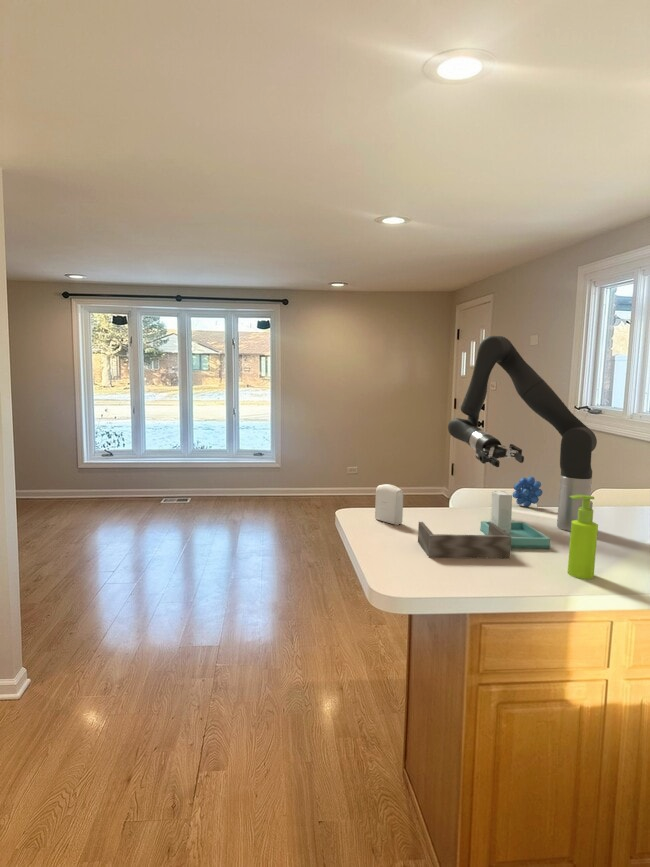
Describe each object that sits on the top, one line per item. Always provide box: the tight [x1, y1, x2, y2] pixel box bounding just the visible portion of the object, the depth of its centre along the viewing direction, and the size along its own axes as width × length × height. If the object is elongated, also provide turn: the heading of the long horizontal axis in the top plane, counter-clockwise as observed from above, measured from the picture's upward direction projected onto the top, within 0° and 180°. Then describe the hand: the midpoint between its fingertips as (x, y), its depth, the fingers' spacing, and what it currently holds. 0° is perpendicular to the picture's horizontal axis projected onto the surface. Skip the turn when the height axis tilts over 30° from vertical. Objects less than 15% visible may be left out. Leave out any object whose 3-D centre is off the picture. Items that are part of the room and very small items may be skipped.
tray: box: [479, 520, 551, 550], centre depth 161 cm, size 14×18×3 cm
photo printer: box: [374, 483, 404, 526], centre depth 177 cm, size 10×4×12 cm, turn 39°
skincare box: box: [490, 490, 513, 534], centre depth 166 cm, size 6×4×12 cm
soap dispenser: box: [567, 495, 599, 580], centre depth 132 cm, size 6×7×20 cm
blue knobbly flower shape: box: [512, 476, 543, 508], centre depth 205 cm, size 12×7×12 cm, turn 42°
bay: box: [417, 521, 512, 559], centre depth 149 cm, size 22×14×6 cm, turn 93°
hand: (510, 462), depth 171 cm, fingers open, 8 cm apart
